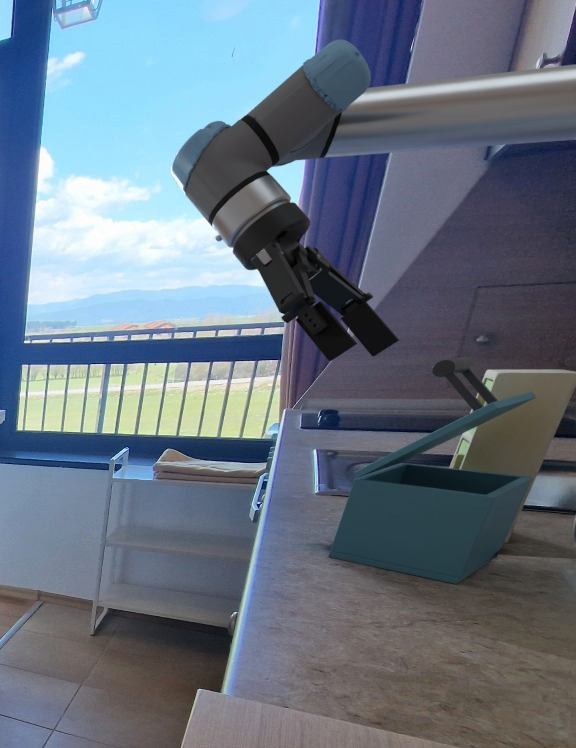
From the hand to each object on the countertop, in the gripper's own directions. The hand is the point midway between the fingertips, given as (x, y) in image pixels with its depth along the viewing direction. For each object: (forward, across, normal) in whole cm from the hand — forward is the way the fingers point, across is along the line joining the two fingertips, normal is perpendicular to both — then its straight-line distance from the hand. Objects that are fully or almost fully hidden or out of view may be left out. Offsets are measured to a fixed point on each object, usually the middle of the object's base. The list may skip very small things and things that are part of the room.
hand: (365, 350), depth 76 cm
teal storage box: (+24, 0, -9) cm, 26 cm away
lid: (+14, 0, 0) cm, 14 cm away
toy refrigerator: (+25, -14, -8) cm, 30 cm away
